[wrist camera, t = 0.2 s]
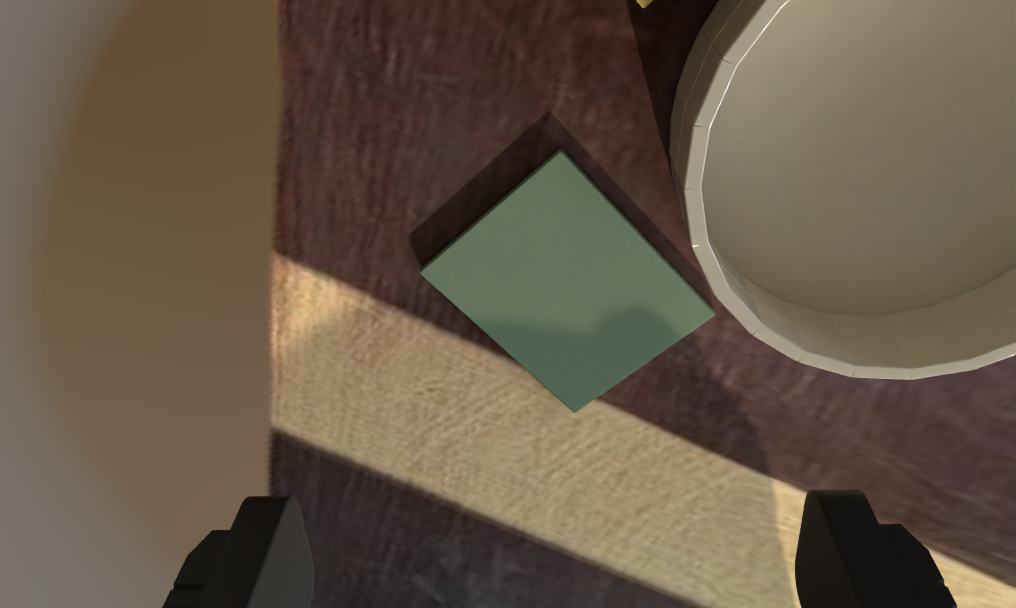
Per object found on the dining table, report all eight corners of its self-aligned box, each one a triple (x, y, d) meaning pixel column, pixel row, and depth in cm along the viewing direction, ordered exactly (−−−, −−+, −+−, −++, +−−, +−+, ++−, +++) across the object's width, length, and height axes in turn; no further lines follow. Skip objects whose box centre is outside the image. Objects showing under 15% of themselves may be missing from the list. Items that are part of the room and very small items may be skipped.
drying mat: (420, 268, 35) (418, 273, 35) (560, 147, 33) (560, 150, 32) (574, 408, 39) (574, 413, 39) (713, 310, 36) (715, 315, 36)
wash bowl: (577, 112, 32) (582, 153, 28) (1003, -261, 25) (1085, -275, 22) (826, 385, 38) (858, 450, 34) (1223, 138, 31) (1319, 183, 27)
